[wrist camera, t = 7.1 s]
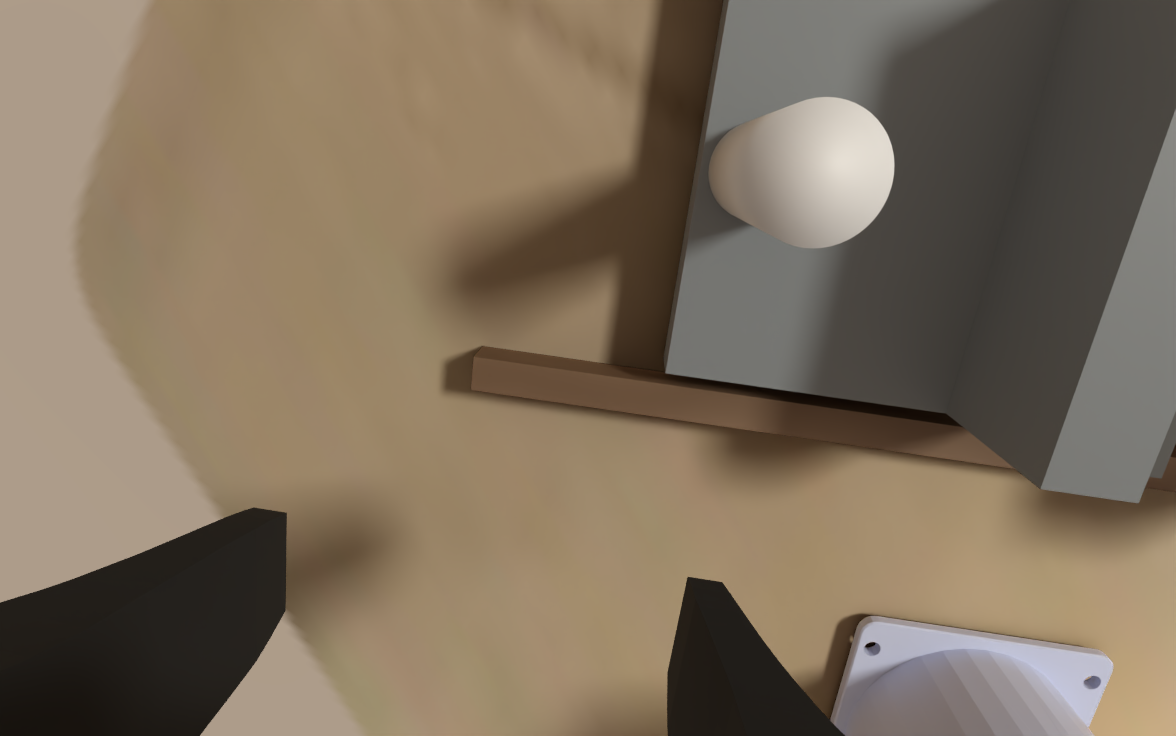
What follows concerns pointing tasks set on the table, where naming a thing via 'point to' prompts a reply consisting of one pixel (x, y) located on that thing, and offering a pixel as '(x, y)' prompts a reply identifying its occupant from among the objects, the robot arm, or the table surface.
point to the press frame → (738, 406)
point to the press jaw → (947, 222)
